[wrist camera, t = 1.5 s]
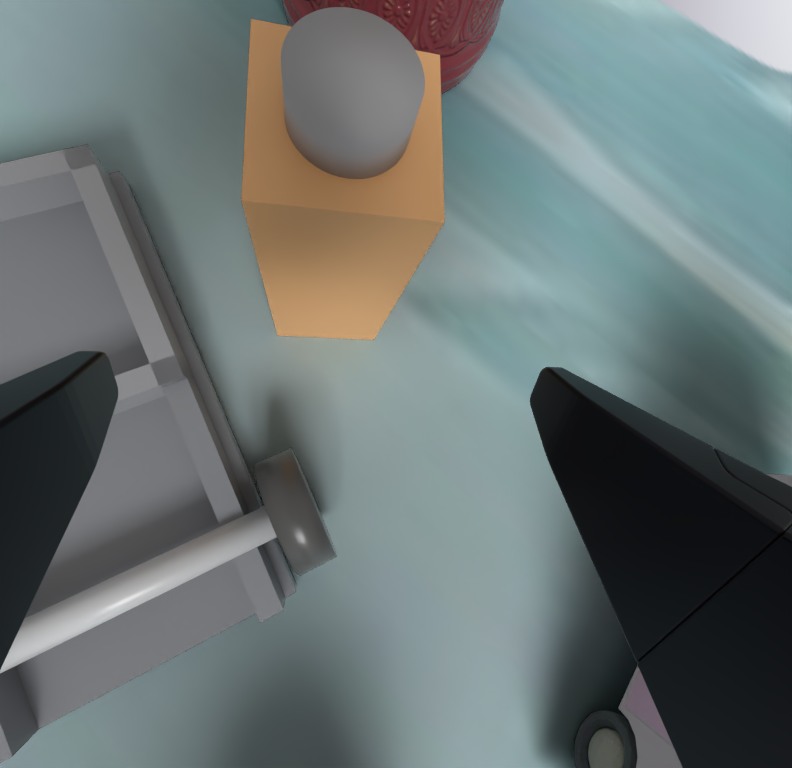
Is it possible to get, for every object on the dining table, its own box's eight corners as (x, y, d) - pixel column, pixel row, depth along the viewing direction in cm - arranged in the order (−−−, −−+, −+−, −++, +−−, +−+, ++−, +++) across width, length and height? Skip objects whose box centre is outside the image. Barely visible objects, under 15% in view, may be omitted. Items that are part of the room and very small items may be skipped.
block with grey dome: (373, 339, 22) (465, 187, 9) (277, 335, 21) (230, 157, 8) (374, 252, 23) (458, -2, 10) (280, 244, 22) (241, -51, 9)
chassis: (341, 561, 20) (351, 596, 16) (-53, 769, 16) (-207, 905, 11) (175, 172, 22) (136, 92, 17) (-231, 273, 17) (-437, 206, 13)
